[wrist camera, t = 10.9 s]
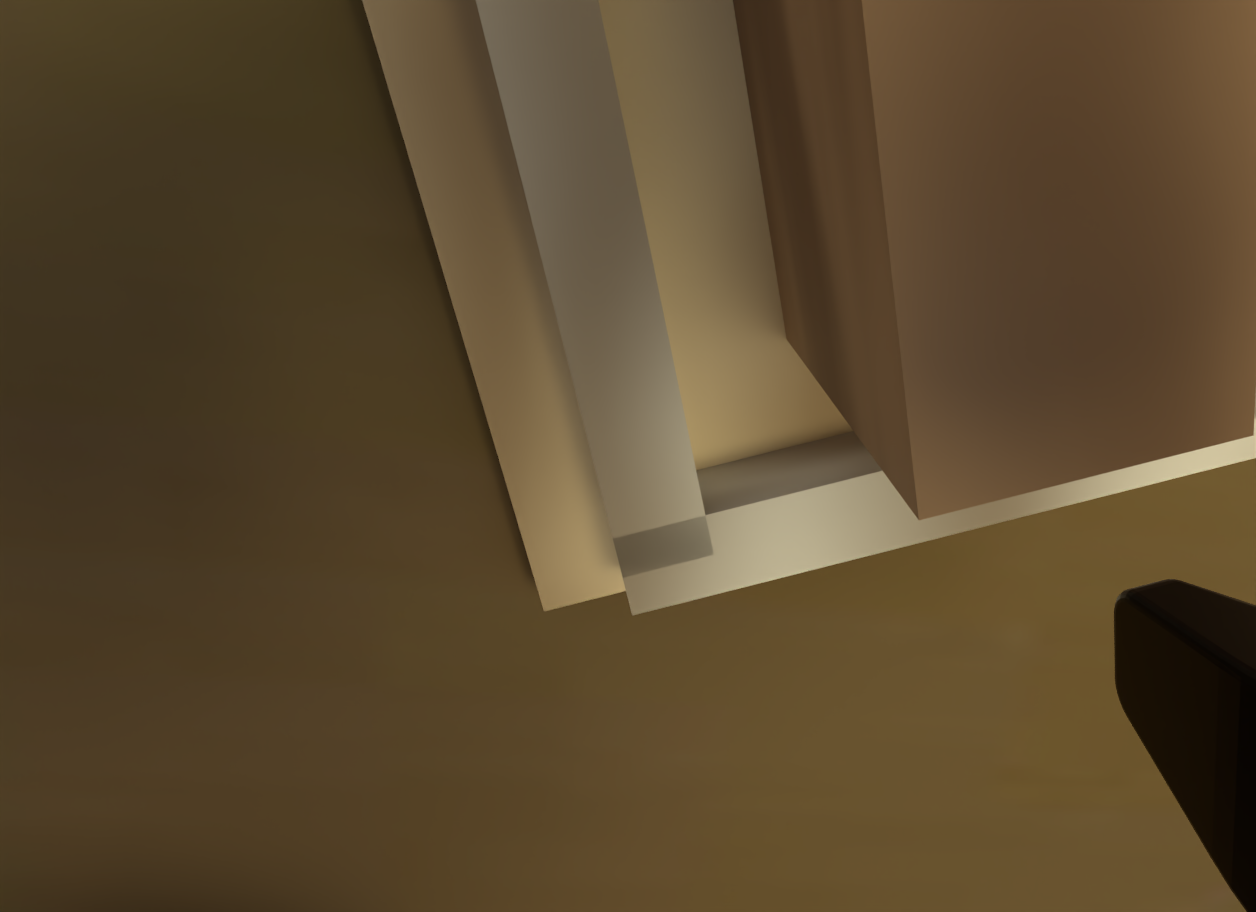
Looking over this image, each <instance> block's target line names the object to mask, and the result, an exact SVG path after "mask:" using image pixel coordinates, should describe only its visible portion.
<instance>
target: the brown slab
mask: <svg viewBox="0 0 1256 912" xmlns="http://www.w3.org/2000/svg"><path fill="white" fill-rule="evenodd" d="M733 5H734V11H735V17H736V24H737V30H738V36H739V43H740V49H741V55H742V61H743V68H744V74H745V80H746V87H747V93H748V99H749V106H750V112H751V118H752V124H753V131H754V137H755V143H756V150H757V156H758V162H759V168H760V175H761V181H762V187H763V194H764V200H765V206H766V213H767V219H768V225H769V231H770V238H771V244H772V250H773V257H774V263H775V269H776V276H777V282H778V288H779V294H780V301H781V307H782V313H783V320H784V326H785V332H786V338H787V341H788V342H789V343H790V345H791V346H792V347H793V349H794V350H795V352H796V353H797V354H798V356H799V357H800V358H801V360H802V361H803V362H804V364H805V365H806V367H807V368H808V369H809V371H810V372H811V373H812V375H813V376H814V378H815V379H816V380H817V382H818V383H819V384H820V386H821V387H822V389H823V390H824V391H825V393H826V394H827V395H828V397H829V398H830V399H831V401H832V402H833V404H834V405H835V406H836V408H837V409H838V410H839V412H840V413H841V415H842V416H843V417H844V419H845V420H846V421H847V423H848V424H849V425H850V427H851V428H852V430H853V431H854V432H855V434H856V435H857V436H858V438H859V439H860V441H861V442H862V443H863V445H864V446H865V447H866V449H867V450H868V452H869V453H870V454H871V456H872V457H873V458H874V460H875V461H876V462H877V464H878V465H879V467H880V468H881V469H882V471H883V472H884V473H885V475H886V476H887V478H888V479H889V480H890V482H891V483H892V484H893V486H894V487H895V489H896V490H897V491H898V493H899V494H900V495H901V497H902V498H903V499H904V501H905V502H906V504H907V505H908V506H909V508H910V509H911V510H912V512H913V513H914V515H915V516H916V517H917V519H918V520H923V519H927V518H931V517H935V516H939V515H943V514H947V513H950V512H954V511H958V510H962V509H966V508H970V507H974V506H978V505H982V504H986V503H990V502H994V501H998V500H1002V499H1006V498H1010V497H1013V496H1017V495H1021V494H1025V493H1029V492H1033V491H1037V490H1041V489H1045V488H1049V487H1053V486H1057V485H1061V484H1065V483H1069V482H1072V481H1076V480H1080V479H1084V478H1088V477H1092V476H1096V475H1100V474H1104V473H1108V472H1112V471H1116V470H1120V469H1124V468H1128V467H1132V466H1135V465H1139V464H1143V463H1147V462H1151V461H1155V460H1159V459H1163V458H1167V457H1171V456H1175V455H1179V454H1183V453H1187V452H1191V451H1195V450H1198V449H1202V448H1206V447H1210V446H1214V445H1218V444H1222V443H1226V442H1230V441H1234V440H1238V439H1242V438H1246V437H1250V436H1254V414H1255V393H1256V0H733Z"/></svg>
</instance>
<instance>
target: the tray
mask: <svg viewBox="0 0 1256 912" xmlns="http://www.w3.org/2000/svg"><path fill="white" fill-rule="evenodd" d="M362 1H363V5H364V8H365V12H366V15H367V18H368V22H369V25H370V28H371V32H372V35H373V38H374V42H375V45H376V48H377V52H378V55H379V59H380V62H381V65H382V69H383V72H384V75H385V79H386V82H387V85H388V89H389V92H390V96H391V99H392V102H393V106H394V109H395V112H396V116H397V119H398V122H399V126H400V129H401V132H402V136H403V139H404V143H405V146H406V149H407V153H408V156H409V159H410V163H411V166H412V169H413V173H414V176H415V180H416V183H417V186H418V190H419V193H420V196H421V200H422V203H423V206H424V210H425V213H426V216H427V220H428V223H429V227H430V230H431V233H432V237H433V240H434V243H435V247H436V250H437V253H438V257H439V260H440V264H441V267H442V270H443V274H444V277H445V280H446V284H447V287H448V290H449V294H450V297H451V300H452V304H453V307H454V311H455V314H456V317H457V321H458V324H459V327H460V331H461V334H462V337H463V341H464V344H465V347H466V351H467V354H468V358H469V361H470V364H471V368H472V371H473V374H474V378H475V381H476V384H477V388H478V391H479V395H480V398H481V401H482V405H483V408H484V411H485V415H486V418H487V421H488V425H489V428H490V431H491V435H492V438H493V442H494V445H495V448H496V452H497V455H498V458H499V462H500V465H501V468H502V472H503V475H504V479H505V482H506V485H507V489H508V492H509V495H510V499H511V502H512V505H513V509H514V512H515V515H516V519H517V522H518V526H519V529H520V532H521V536H522V539H523V542H524V546H525V549H526V552H527V556H528V559H529V563H530V566H531V569H532V573H533V576H534V579H535V583H536V586H537V589H538V593H539V596H540V599H541V603H542V606H543V610H544V611H548V610H552V609H556V608H560V607H564V606H568V605H572V604H576V603H580V602H584V601H588V600H592V599H596V598H599V597H603V596H607V595H611V594H615V593H619V592H623V591H626V593H627V597H628V601H629V605H630V609H631V612H632V615H636V614H640V613H644V612H648V611H652V610H656V609H660V608H664V607H668V606H672V605H676V604H680V603H684V602H688V601H692V600H696V599H700V598H704V597H708V596H712V595H715V594H719V593H723V592H727V591H731V590H735V589H739V588H743V587H747V586H751V585H755V584H759V583H763V582H767V581H771V580H775V579H779V578H783V577H787V576H791V575H795V574H799V573H802V572H806V571H810V570H814V569H818V568H822V567H826V566H830V565H834V564H838V563H842V562H846V561H850V560H854V559H858V558H862V557H866V556H870V555H874V554H878V553H882V552H885V551H889V550H893V549H897V548H901V547H905V546H909V545H913V544H917V543H921V542H925V541H929V540H933V539H937V538H941V537H945V536H949V535H953V534H957V533H961V532H965V531H969V530H972V529H976V528H980V527H984V526H988V525H992V524H996V523H1000V522H1004V521H1008V520H1012V519H1016V518H1020V517H1024V516H1028V515H1032V514H1036V513H1040V512H1044V511H1048V510H1052V509H1056V508H1059V507H1063V506H1067V505H1071V504H1075V503H1079V502H1083V501H1087V500H1091V499H1095V498H1099V497H1103V496H1107V495H1111V494H1115V493H1119V492H1123V491H1127V490H1131V489H1135V488H1139V487H1143V486H1146V485H1150V484H1154V483H1158V482H1162V481H1166V480H1170V479H1174V478H1178V477H1182V476H1186V475H1190V474H1194V473H1198V472H1202V471H1206V470H1210V469H1214V468H1218V467H1222V466H1226V465H1229V464H1233V463H1237V462H1241V461H1245V460H1249V459H1253V458H1256V393H1255V414H1254V436H1250V437H1246V438H1242V439H1238V440H1234V441H1230V442H1226V443H1222V444H1218V445H1214V446H1210V447H1206V448H1202V449H1198V450H1195V451H1191V452H1187V453H1183V454H1179V455H1175V456H1171V457H1167V458H1163V459H1159V460H1155V461H1151V462H1147V463H1143V464H1139V465H1135V466H1132V467H1128V468H1124V469H1120V470H1116V471H1112V472H1108V473H1104V474H1100V475H1096V476H1092V477H1088V478H1084V479H1080V480H1076V481H1072V482H1069V483H1065V484H1061V485H1057V486H1053V487H1049V488H1045V489H1041V490H1037V491H1033V492H1029V493H1025V494H1021V495H1017V496H1013V497H1010V498H1006V499H1002V500H998V501H994V502H990V503H986V504H982V505H978V506H974V507H970V508H966V509H962V510H958V511H954V512H950V513H947V514H943V515H939V516H935V517H931V518H927V519H923V520H918V519H917V517H916V516H915V515H914V513H913V512H912V510H911V509H910V508H909V506H908V505H907V504H906V502H905V501H904V499H903V498H902V497H901V495H900V494H899V493H898V491H897V490H896V489H895V487H894V486H893V484H892V483H891V482H890V480H889V479H888V478H887V476H886V475H885V473H884V472H883V471H882V469H881V468H880V467H879V465H878V464H877V462H876V461H875V460H874V458H873V457H872V456H871V454H870V453H869V452H868V450H867V449H866V447H865V446H864V445H863V443H862V442H861V441H860V439H859V438H858V436H857V435H856V434H855V432H854V431H853V430H852V428H851V427H850V425H849V424H848V423H847V421H846V420H845V419H844V417H843V416H842V415H841V413H840V412H839V410H838V409H837V408H836V406H835V405H834V404H833V402H832V401H831V399H830V398H829V397H828V395H827V394H826V393H825V391H824V390H823V389H822V387H821V386H820V384H819V383H818V382H817V380H816V379H815V378H814V376H813V375H812V373H811V372H810V371H809V369H808V368H807V367H806V365H805V364H804V362H803V361H802V360H801V358H800V357H799V356H798V354H797V353H796V352H795V350H794V349H793V347H792V346H791V345H790V343H789V342H788V341H787V338H786V332H785V326H784V320H783V313H782V307H781V301H780V294H779V288H778V282H777V276H776V269H775V263H774V257H773V250H772V244H771V238H770V231H769V225H768V219H767V213H766V206H765V200H764V194H763V187H762V181H761V175H760V168H759V162H758V156H757V150H756V143H755V137H754V131H753V124H752V118H751V112H750V106H749V99H748V93H747V87H746V80H745V74H744V68H743V61H742V55H741V49H740V43H739V36H738V30H737V24H736V17H735V11H734V5H733V0H362Z"/></svg>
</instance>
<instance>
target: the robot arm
mask: <svg viewBox="0 0 1256 912" xmlns="http://www.w3.org/2000/svg"><path fill="white" fill-rule="evenodd" d="M1114 645H1115V684H1116V689H1117V694H1118V697H1119V700H1120V703H1121V705H1122V708H1123V710H1124V712H1125V714H1126V716H1127V717H1128V719H1129V721H1130V722H1131V724H1132V726H1133V727H1134V729H1135V731H1136V732H1137V734H1138V736H1139V737H1140V739H1141V741H1142V743H1143V744H1144V746H1145V748H1146V749H1147V751H1148V753H1149V754H1150V756H1151V758H1152V759H1153V761H1154V763H1155V764H1156V766H1157V768H1158V769H1159V771H1160V773H1161V774H1162V776H1163V778H1164V780H1165V781H1166V783H1167V785H1168V786H1169V788H1170V790H1171V791H1172V793H1173V795H1174V796H1175V798H1176V800H1177V801H1178V803H1179V805H1180V806H1181V808H1182V810H1183V811H1184V813H1185V815H1186V817H1187V818H1188V820H1189V822H1190V823H1191V825H1192V827H1193V828H1194V830H1195V832H1196V833H1197V835H1198V837H1199V838H1200V840H1201V842H1202V843H1203V845H1204V847H1205V848H1206V850H1207V852H1208V854H1209V855H1210V857H1211V859H1212V860H1213V862H1214V863H1215V865H1216V867H1217V868H1218V870H1219V871H1220V873H1221V874H1222V876H1223V878H1224V879H1225V881H1226V882H1227V884H1228V886H1229V887H1230V889H1231V890H1232V892H1233V893H1234V894H1235V896H1236V897H1237V899H1238V900H1239V901H1240V903H1241V904H1242V906H1243V907H1244V909H1245V910H1246V911H1247V912H1256V605H1253V604H1250V603H1247V602H1244V601H1241V600H1238V599H1235V598H1232V597H1229V596H1226V595H1223V594H1220V593H1217V592H1214V591H1211V590H1208V589H1205V588H1201V587H1198V586H1195V585H1192V584H1189V583H1186V582H1183V581H1180V580H1175V579H1168V580H1162V581H1158V582H1154V583H1150V584H1147V585H1143V586H1139V587H1135V588H1131V589H1127V590H1125V591H1123V592H1122V593H1121V594H1120V595H1119V596H1118V597H1117V600H1116V603H1115V608H1114Z"/></svg>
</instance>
